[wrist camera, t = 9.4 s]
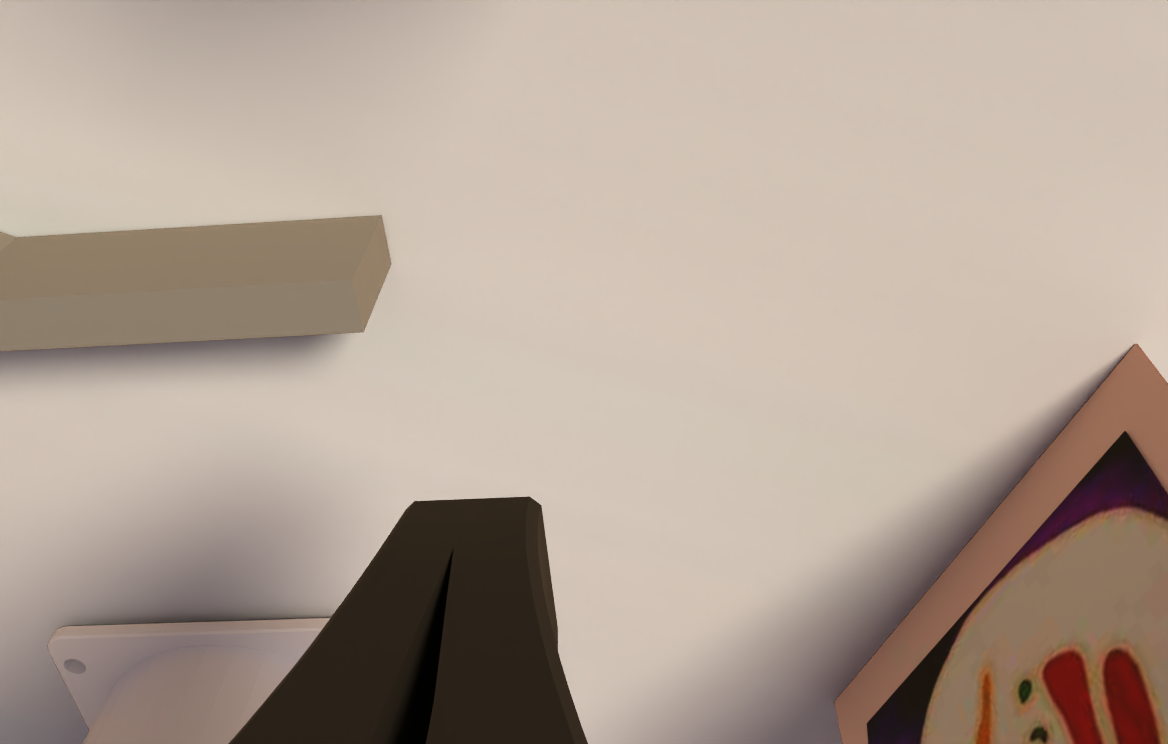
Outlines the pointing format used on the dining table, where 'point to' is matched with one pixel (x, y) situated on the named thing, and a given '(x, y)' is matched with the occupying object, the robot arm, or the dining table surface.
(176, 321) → the keyhole track
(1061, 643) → the greeting card
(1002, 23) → the dining table surface
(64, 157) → the dining table surface
